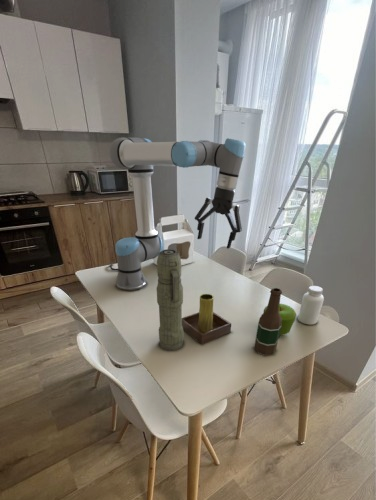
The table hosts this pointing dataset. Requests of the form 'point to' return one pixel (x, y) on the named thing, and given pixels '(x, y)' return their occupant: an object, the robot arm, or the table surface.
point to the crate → (219, 330)
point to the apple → (286, 317)
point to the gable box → (177, 237)
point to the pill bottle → (311, 305)
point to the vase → (206, 313)
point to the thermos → (170, 299)
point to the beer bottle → (269, 325)
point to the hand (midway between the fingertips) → (213, 243)
